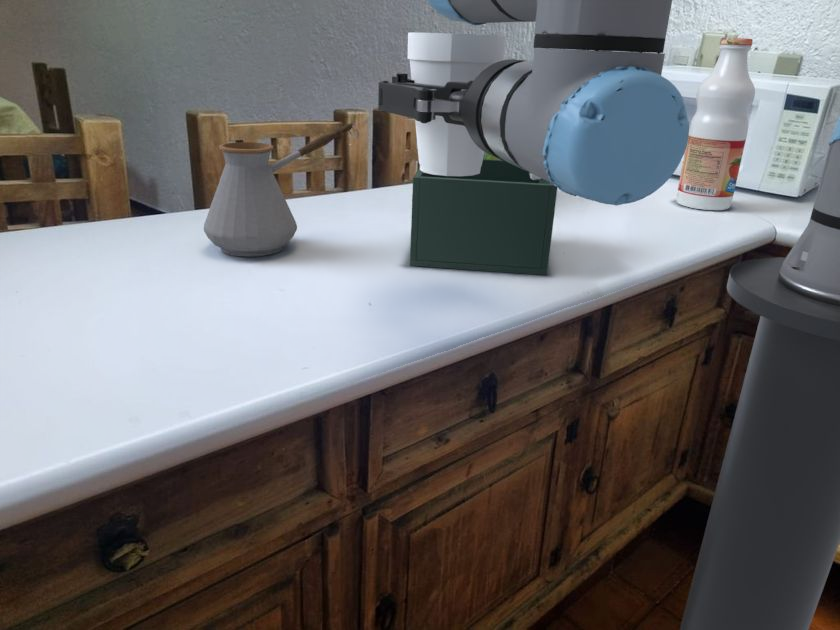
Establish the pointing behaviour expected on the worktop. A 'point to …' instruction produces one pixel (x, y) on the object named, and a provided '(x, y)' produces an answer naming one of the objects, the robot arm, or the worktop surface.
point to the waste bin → (483, 220)
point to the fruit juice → (718, 131)
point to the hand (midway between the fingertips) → (441, 91)
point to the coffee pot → (254, 199)
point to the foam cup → (436, 65)
